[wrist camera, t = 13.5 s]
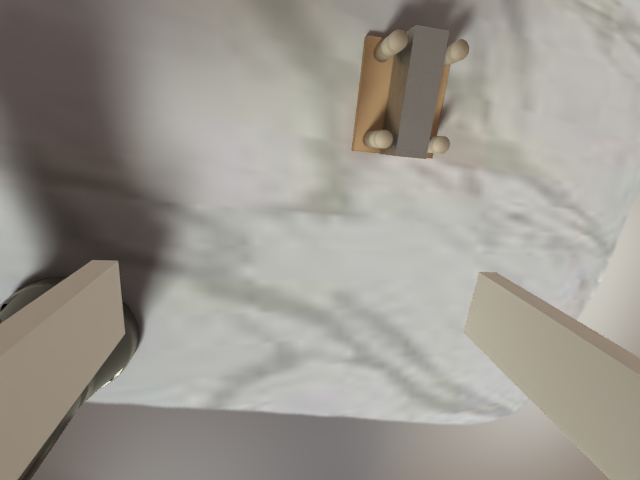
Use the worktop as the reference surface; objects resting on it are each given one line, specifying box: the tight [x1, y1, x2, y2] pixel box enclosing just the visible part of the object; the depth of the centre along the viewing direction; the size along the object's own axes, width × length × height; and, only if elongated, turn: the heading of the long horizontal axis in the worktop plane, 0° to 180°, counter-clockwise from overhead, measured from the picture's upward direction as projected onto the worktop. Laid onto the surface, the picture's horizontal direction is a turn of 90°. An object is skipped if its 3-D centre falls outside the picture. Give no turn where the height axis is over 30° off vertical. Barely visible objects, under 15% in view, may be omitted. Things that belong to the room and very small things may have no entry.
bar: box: [380, 25, 450, 159], centre depth 35 cm, size 12×4×5 cm, turn 175°
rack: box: [352, 29, 469, 158], centre depth 35 cm, size 10×12×6 cm
